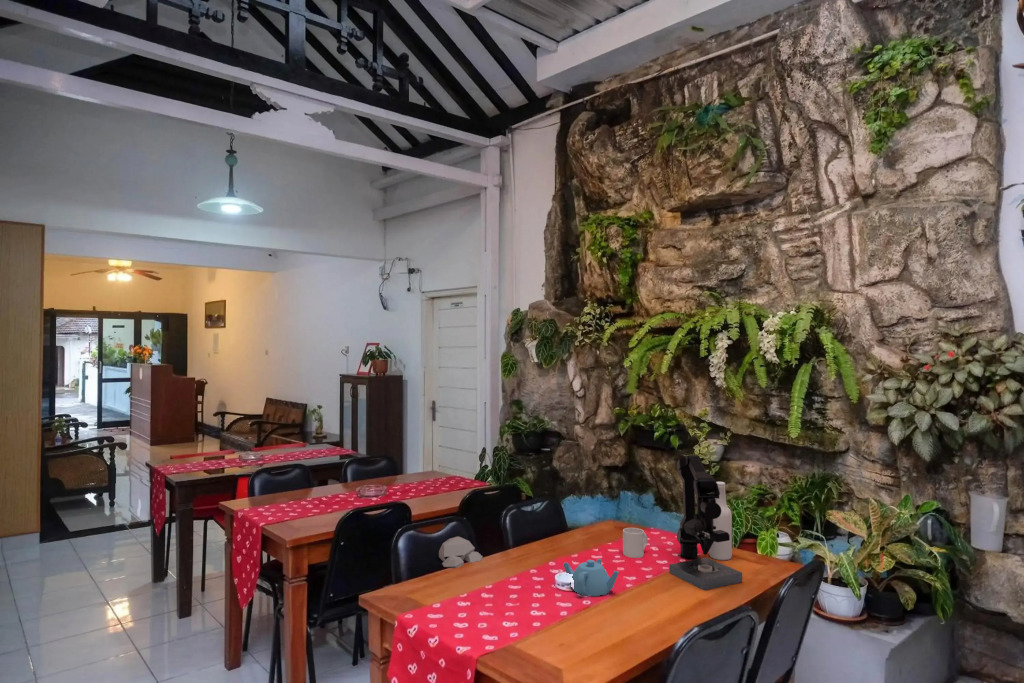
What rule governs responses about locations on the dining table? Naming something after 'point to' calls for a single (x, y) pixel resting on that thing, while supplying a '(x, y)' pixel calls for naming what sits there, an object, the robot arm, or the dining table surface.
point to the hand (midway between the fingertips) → (705, 554)
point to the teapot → (591, 578)
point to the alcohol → (722, 528)
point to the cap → (705, 568)
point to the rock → (458, 552)
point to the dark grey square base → (705, 573)
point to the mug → (634, 542)
